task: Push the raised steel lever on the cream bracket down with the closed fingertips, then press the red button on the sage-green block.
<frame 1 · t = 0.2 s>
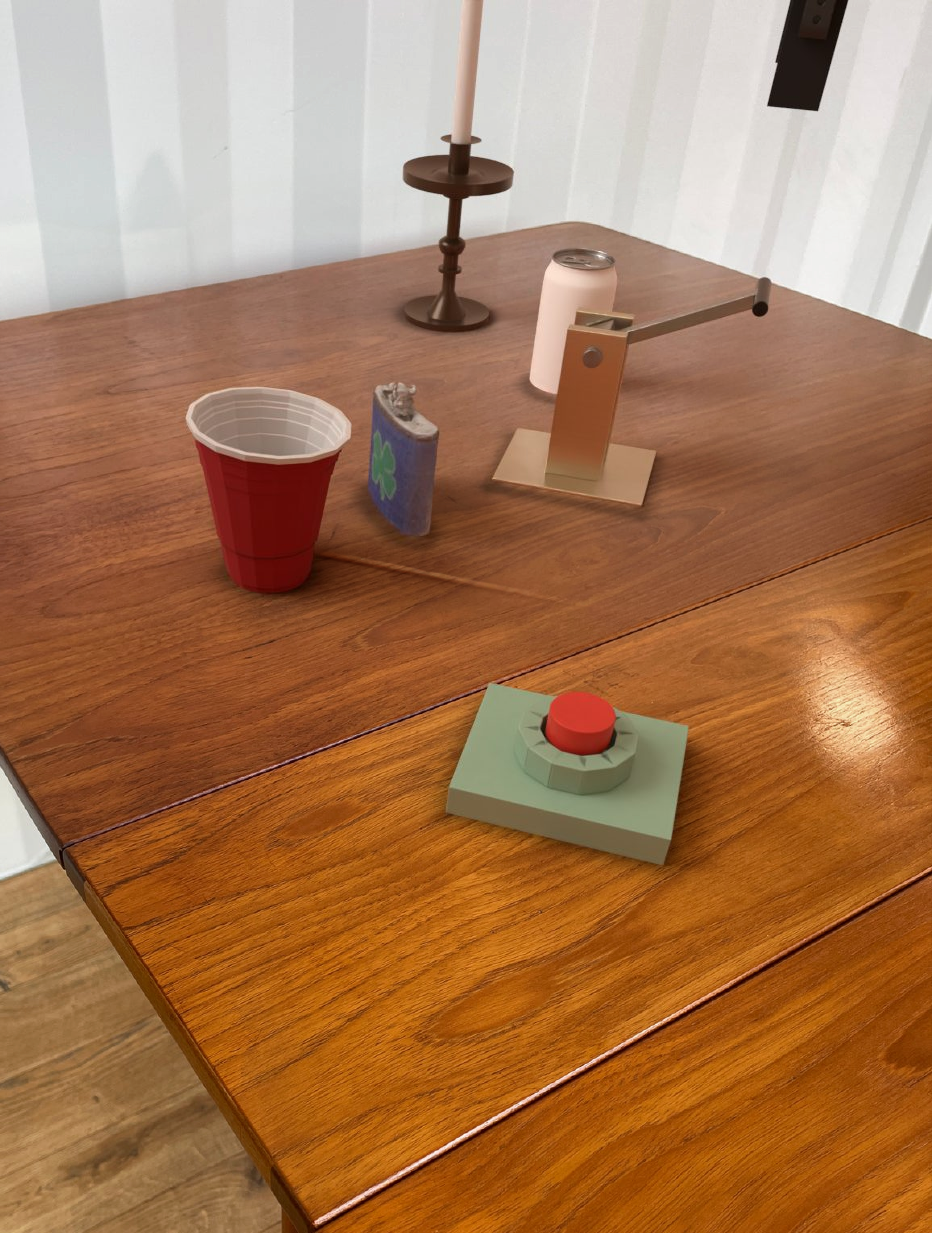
hand: (794, 84, 66), 30 cm above the table, tool pointing down, fingers open, 13 cm apart
lever: (671, 323, 83), point 13 cm above the table, hinge at 25.0°
can: (561, 393, 106), on the table
button: (580, 723, 62), point 4 cm above the table, slide at 0.1 cm
plastic cup: (272, 576, 80), on the table
flask: (395, 520, 87), on the table
button block: (567, 783, 65), on the table
candlestick: (445, 320, 119), on the table
bracket: (574, 477, 93), on the table
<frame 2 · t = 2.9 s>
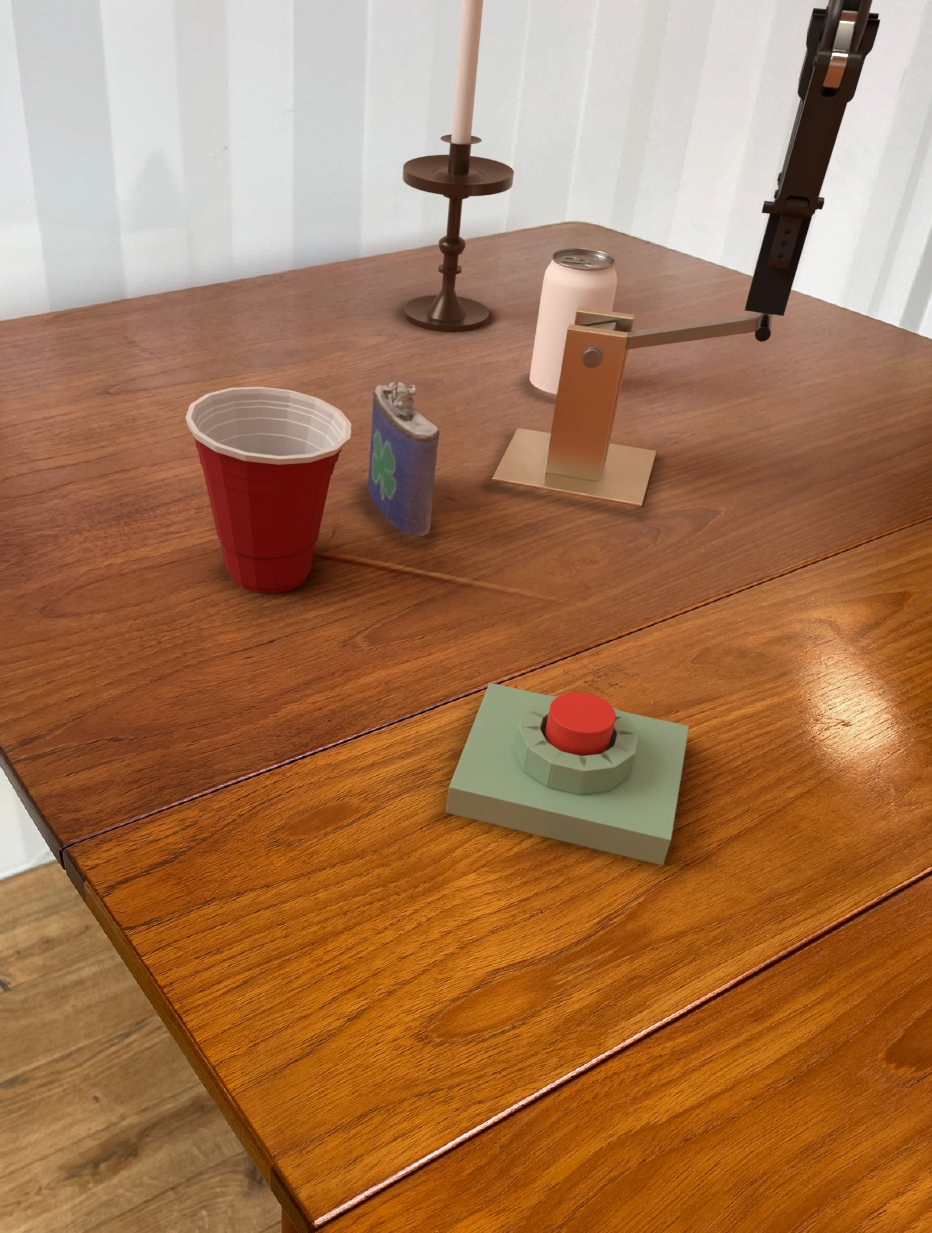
hand: (764, 309, 80), 15 cm above the table, tool pointing down, fingers closed
lever: (672, 334, 83), point 13 cm above the table, hinge at 16.5°, touching gripper
everything else where it was.
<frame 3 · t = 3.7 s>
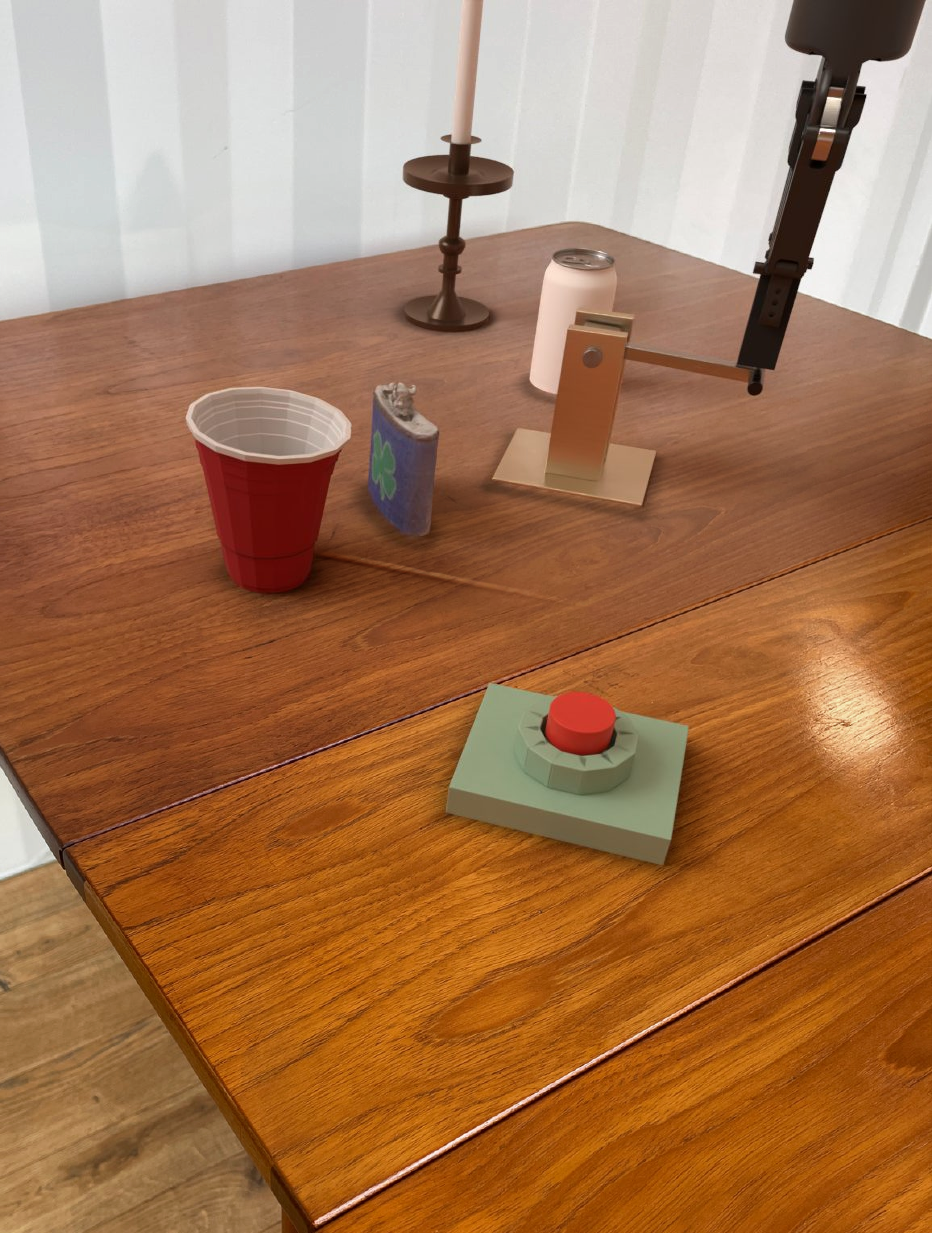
hand: (756, 363, 83), 11 cm above the table, tool pointing down, fingers closed
lever: (670, 358, 85), point 11 cm above the table, hinge at -2.2°, touching gripper
everything else where it was.
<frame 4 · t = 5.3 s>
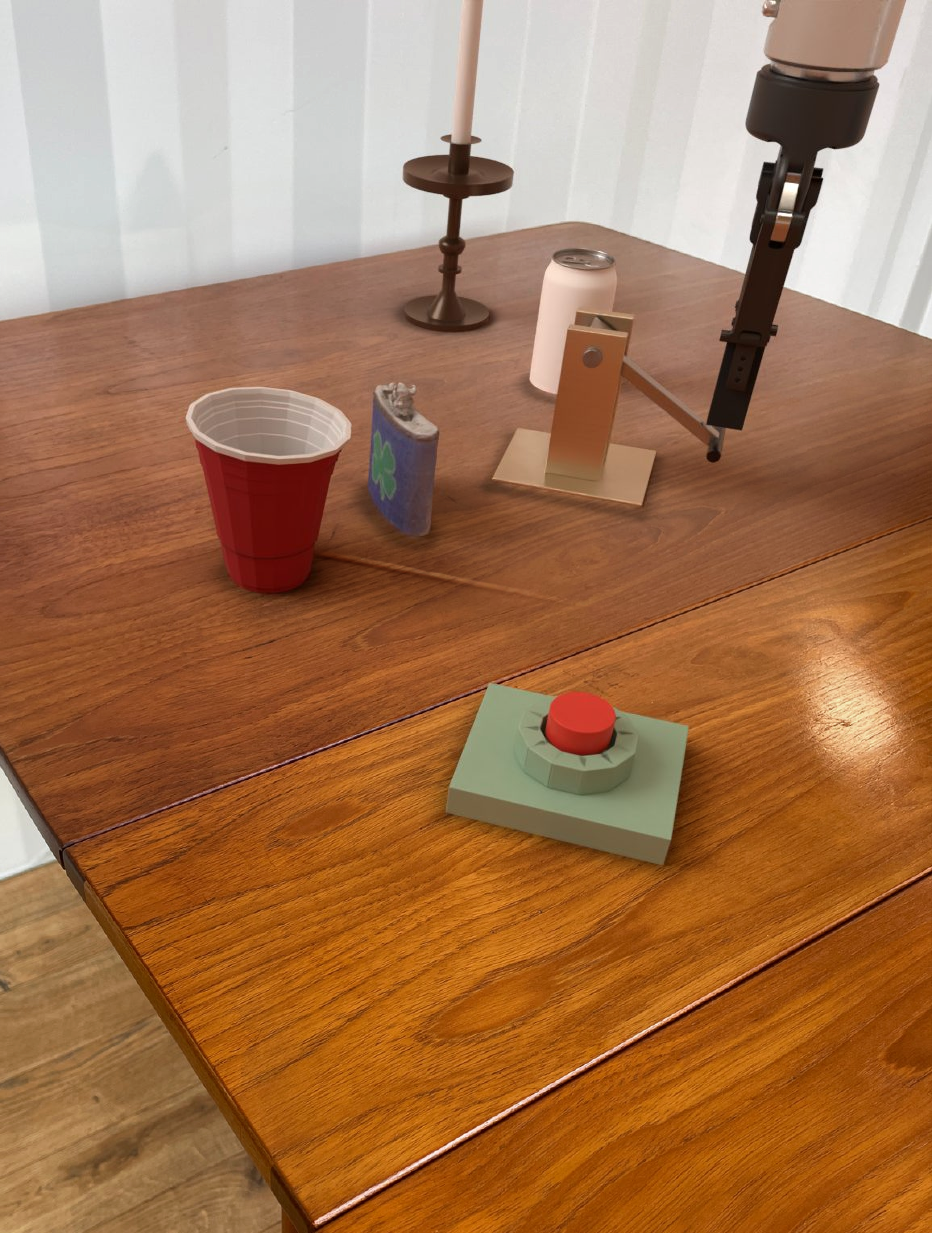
hand: (724, 423, 86), 7 cm above the table, tool pointing down, fingers closed
lever: (653, 390, 86), point 8 cm above the table, hinge at -30.1°, touching gripper
everything else where it was.
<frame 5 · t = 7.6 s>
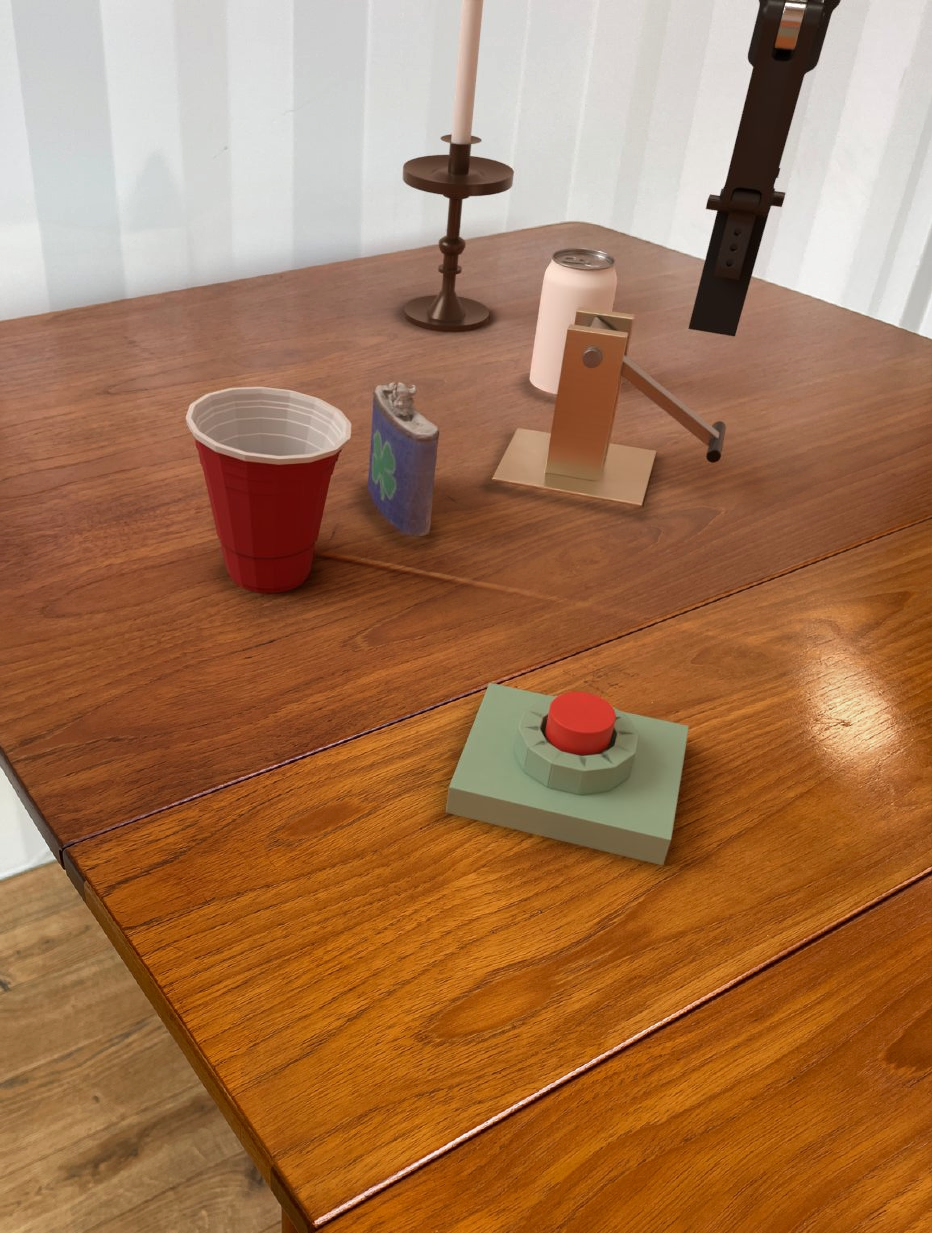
hand: (712, 327, 66), 19 cm above the table, tool pointing down, fingers closed
lever: (653, 390, 86), point 8 cm above the table, hinge at -30.1°
everything else where it was.
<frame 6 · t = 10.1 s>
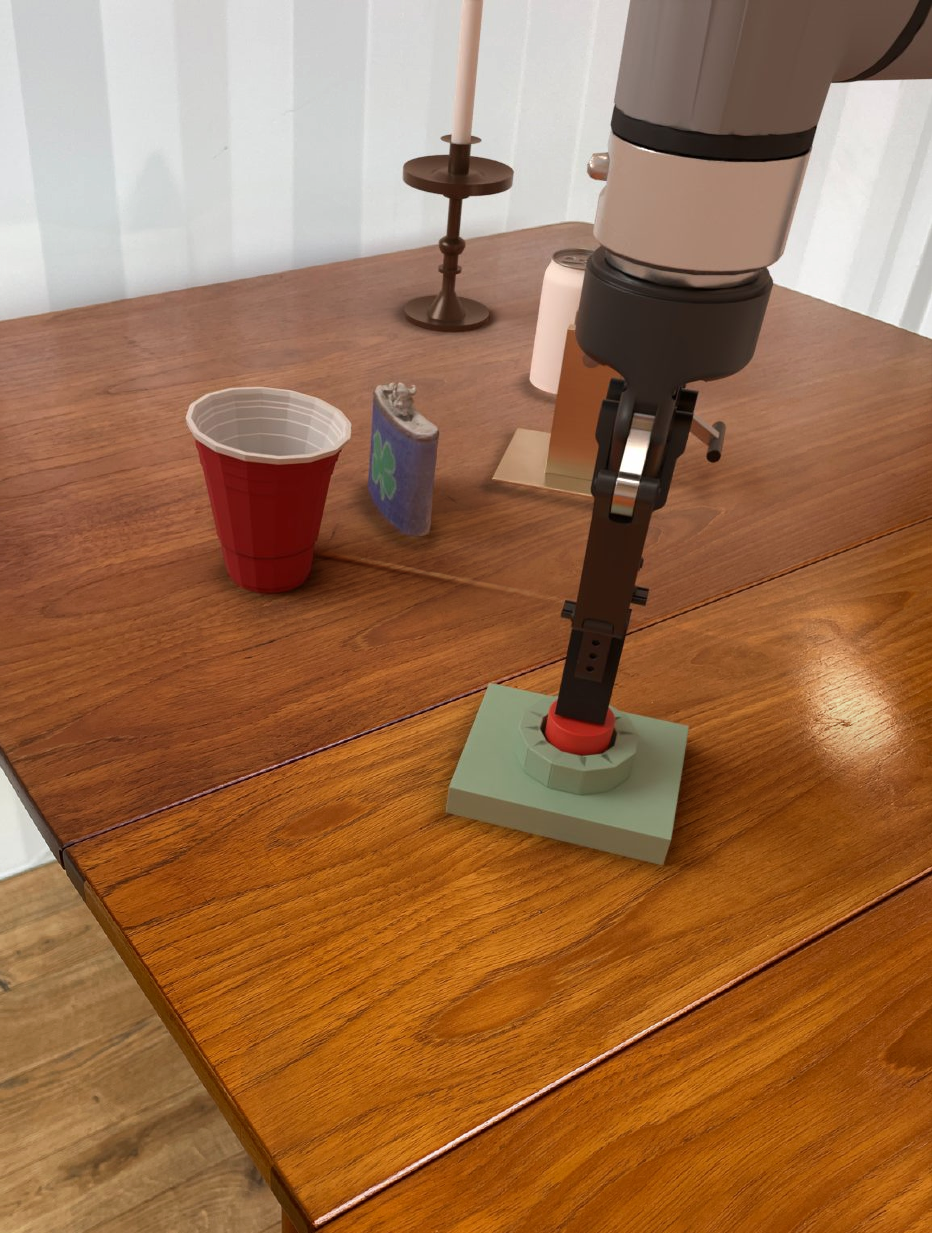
hand: (581, 711, 61), 5 cm above the table, tool pointing down, fingers closed
button: (579, 727, 62), point 4 cm above the table, slide at -0.1 cm, touching gripper
everything else where it was.
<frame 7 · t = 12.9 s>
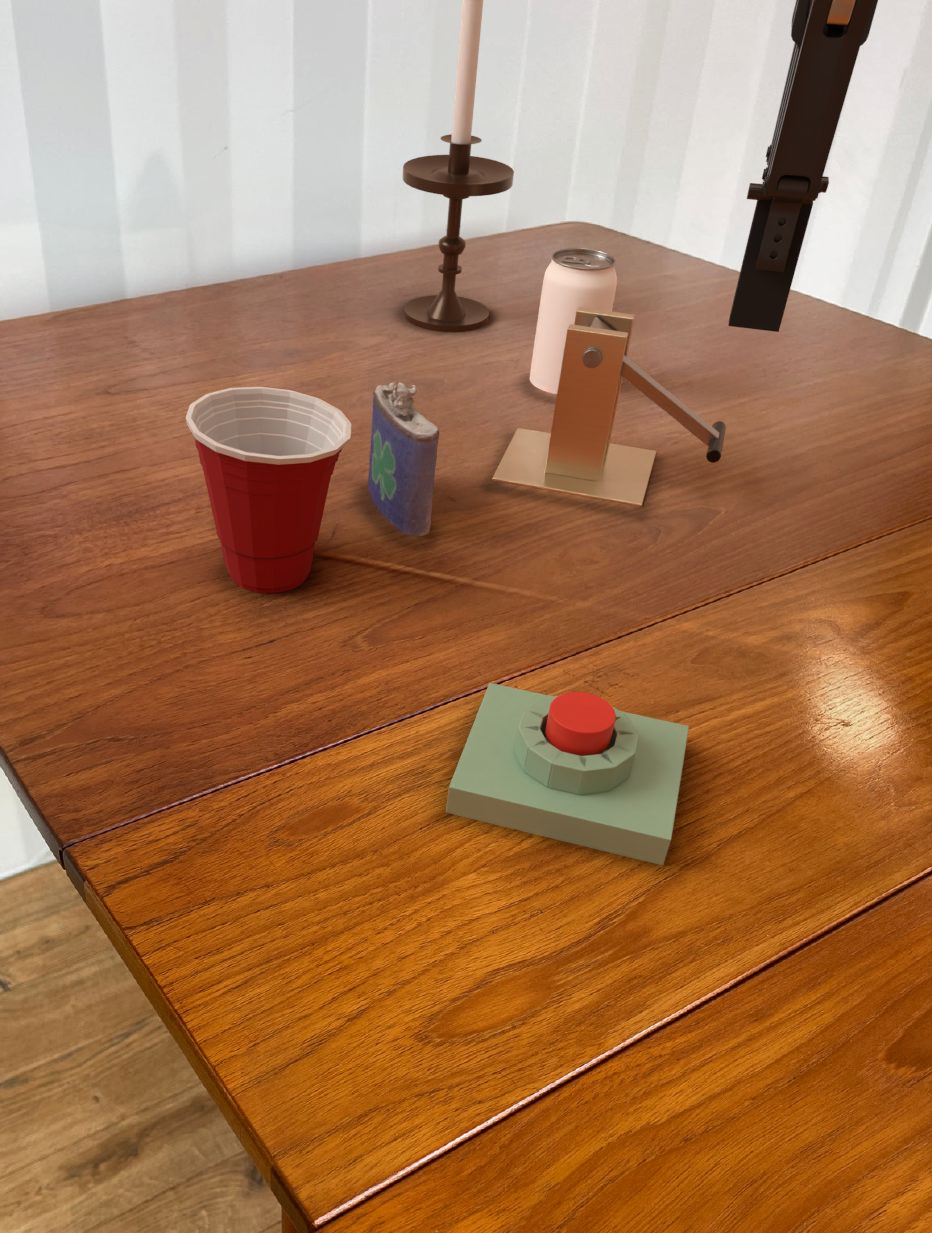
hand: (753, 323, 62), 21 cm above the table, tool pointing down, fingers closed
button: (580, 723, 62), point 4 cm above the table, slide at 0.1 cm
everything else where it was.
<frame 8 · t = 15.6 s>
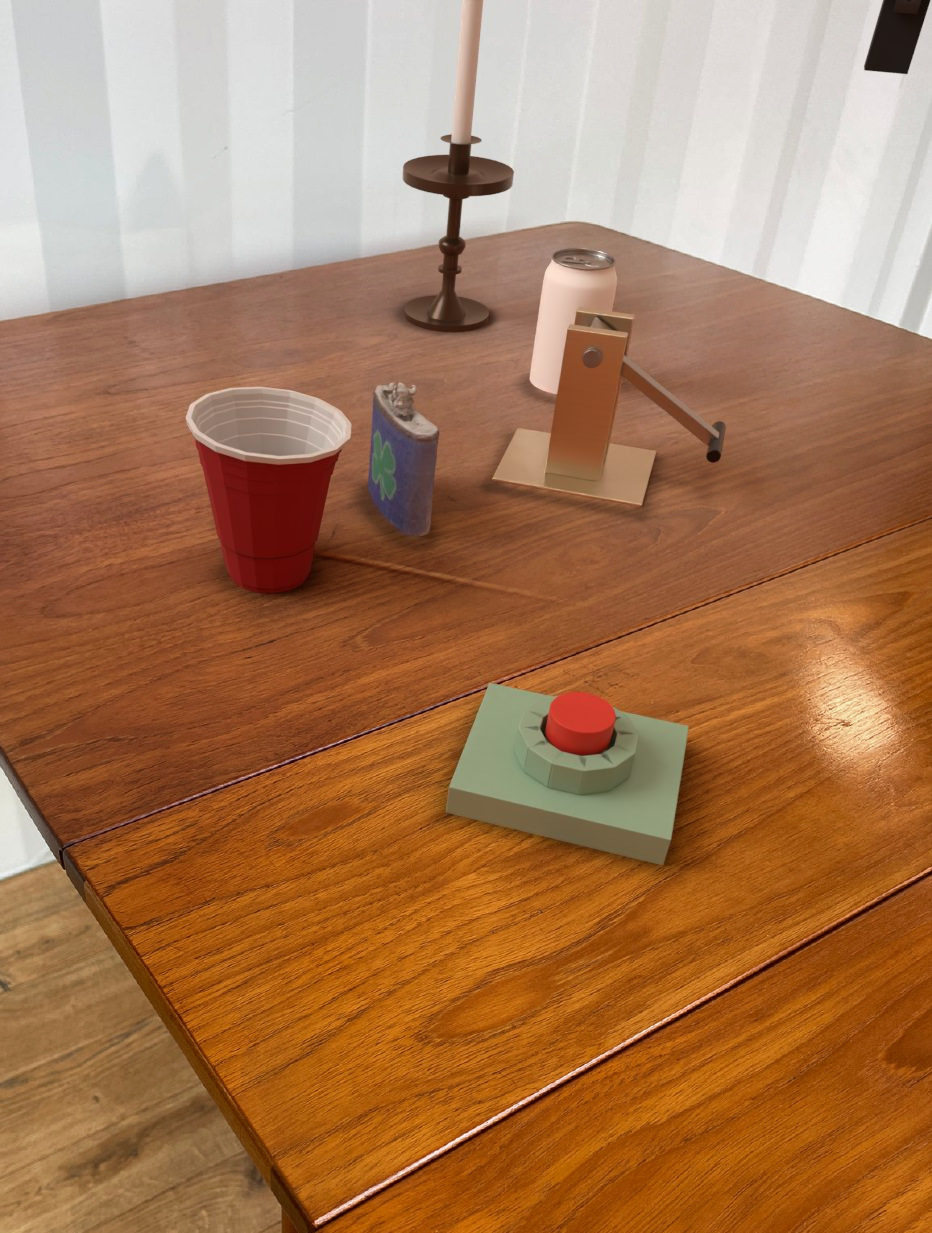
hand: (885, 69, 74), 29 cm above the table, tool pointing down, fingers closed
nothing on the table moved.
at the end: lever at -30° (first picture: +25°); button pushed in 1.0 cm at the most during the clip, back to where it started at the end; button slide at 0.1 cm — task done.
